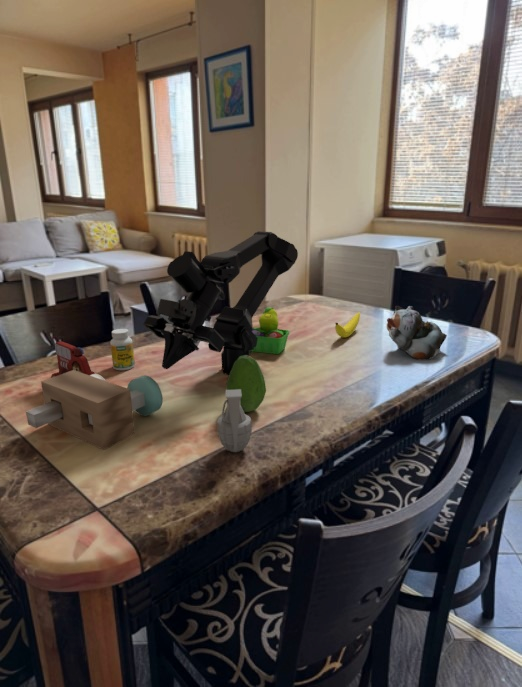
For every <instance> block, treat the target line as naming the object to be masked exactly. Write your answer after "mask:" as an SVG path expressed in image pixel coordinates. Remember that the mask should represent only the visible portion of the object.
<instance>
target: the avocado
mask: <svg viewBox="0 0 522 687" xmlns="http://www.w3.org/2000/svg"><path fill="white" fill-rule="evenodd" d="M262 371H263V370H262V369H261V367H260V365H259V363H258V361H257V360H256V358H254V357H252V356H251V357H250V356H248V355H243V356H240V357H239V358H238V359H237V360H236V361H235V363H234V365H233V367H232V370H231V372H230V374H228V379H227V382H226V386H225V390H236V389H241V394H242V397H241V399H240V405H241V407H242V409H243V411H244V413H250V412H253V411H255V410H257V409H258V408H259V407H260V405H261V404H262V403H263V401H264V399H265V396H266V392H267V388H266V387H267V386H266V380H265V376H264V373H263V372H262Z"/></svg>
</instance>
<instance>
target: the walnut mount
mask: <svg viewBox="0 0 522 687" xmlns="http://www.w3.org/2000/svg"><path fill="white" fill-rule="evenodd" d="M40 382H41V388H42V390H41V391H42V395H43V401H44V402H43V403H44V404H42V405H39V406H37V407H34V408H31V409H29V410H26V411H25V414H26V421H27V424H28V425H29V426H31V427H33V428H35V429H38V428H40V427H43V426H45V425H49V426H52V427H54V428H56V429H58V430H60V431H62V432H64V433H65V434H66V433H67V434H69V435H71V436H73V437H76V438H78V439H80V440H82V441H84V442H86V443H88V444H90V445H93V446H95V447H97V448H99V449H101V450H103V451H104V450H106V449H108V448H110V447H112V446H113V445H116V444H118V443H120V442H122V441H124V440H125V439H127V438H129V437H131V436H133V435H135V433H136V432H135V423H134V415H133V412H134V411H132V402H131V393H130V389H128V388H127V387H125V386H122V385H119V384H116V383H112V382H109V381H107V380H106V379H105V378H104V377H103V376H102V375H100V374H99V373H96V374H92V375H87V374H84V373H81V372H78V371H75V370H72V371H69V372H66V373H64V374H61V375H58V376H55V377H52V378H51V377H50V378H47V379H44V380H41V381H40ZM88 414H90V415H92V423H93V425H91V424H89V418H88Z"/></svg>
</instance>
